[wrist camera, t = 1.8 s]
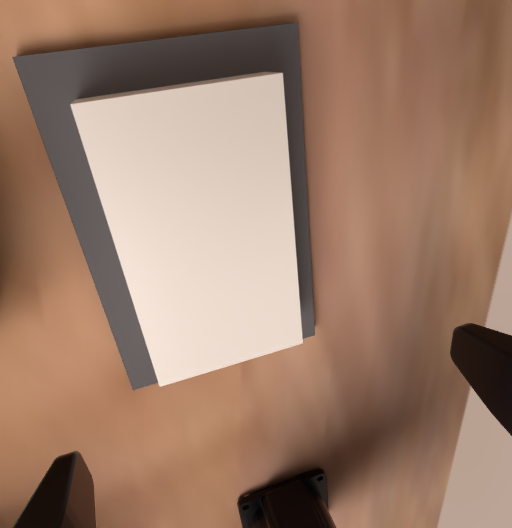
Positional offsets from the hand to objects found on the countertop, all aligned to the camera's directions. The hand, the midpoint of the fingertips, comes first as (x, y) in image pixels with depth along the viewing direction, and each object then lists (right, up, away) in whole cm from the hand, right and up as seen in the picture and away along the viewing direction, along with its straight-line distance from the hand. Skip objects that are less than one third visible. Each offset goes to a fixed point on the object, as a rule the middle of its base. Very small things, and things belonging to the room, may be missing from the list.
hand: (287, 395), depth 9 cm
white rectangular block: (-3, +4, +8) cm, 10 cm away
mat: (-3, +5, +9) cm, 11 cm away
